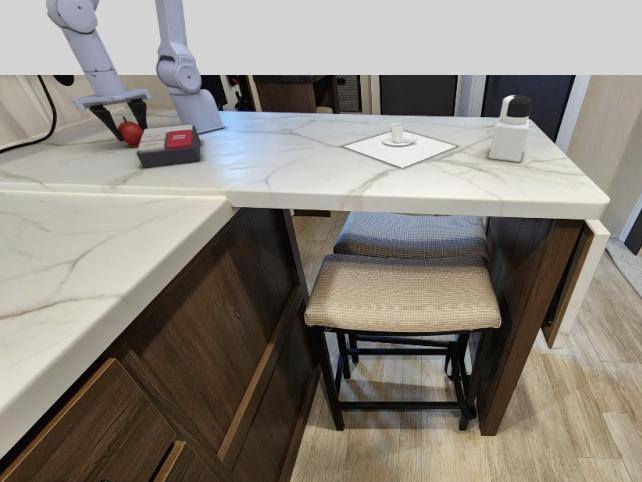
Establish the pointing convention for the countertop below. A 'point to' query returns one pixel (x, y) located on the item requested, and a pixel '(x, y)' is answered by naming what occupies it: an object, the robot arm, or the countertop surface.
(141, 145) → the grey box
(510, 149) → the medicine bottle
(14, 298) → the countertop surface
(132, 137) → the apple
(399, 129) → the teacup and saucer
